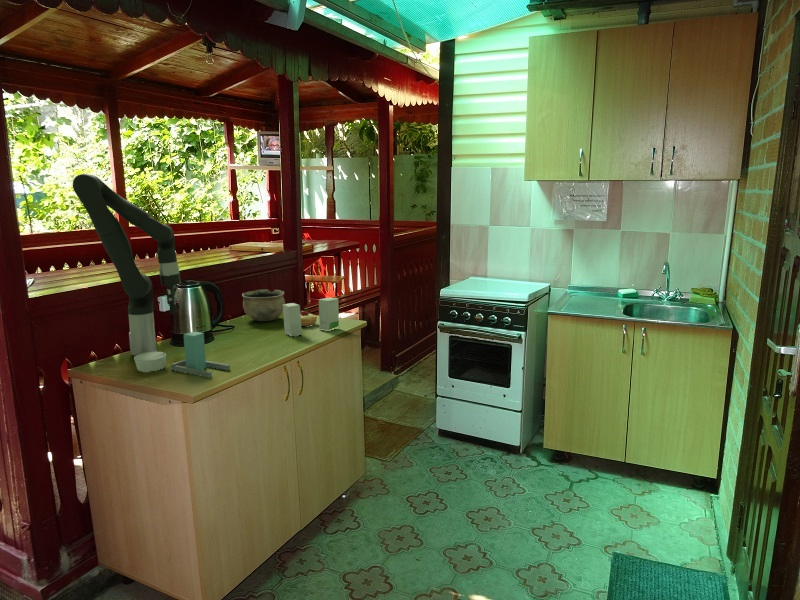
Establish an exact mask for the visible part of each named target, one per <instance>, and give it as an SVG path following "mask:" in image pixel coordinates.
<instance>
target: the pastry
mask: <svg viewBox="0 0 800 600" xmlns="http://www.w3.org/2000/svg"><path fill="white" fill-rule="evenodd" d="M300 315H301V326H310V325H314V324H317V320H318V319H317V315H316V314H312V313H309V311H308V310H307V307H305V308H304V310H300ZM314 326H315V325H314Z"/></svg>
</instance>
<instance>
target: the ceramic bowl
mask: <svg viewBox="0 0 800 600" xmlns="http://www.w3.org/2000/svg"><path fill="white" fill-rule="evenodd" d="M241 296H242V297H241V298H242V299H243V301H242V308H243V311H244V313H245V314H246V315H247V316H248V317H250V319H252V320H253V321H256V322H257V321H258V322H269V321H274V320H276V319H279V317H280V316H281V315H282V314H283V304H286V299H285V298H284V296H285V291H284V290H281V289H274V290H273V291H270V290H269V289H255V290H252V291H247V292H242V294H241Z"/></svg>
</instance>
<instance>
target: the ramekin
mask: <svg viewBox="0 0 800 600" xmlns="http://www.w3.org/2000/svg"><path fill="white" fill-rule="evenodd" d="M166 358H167V353H165V352H162V351H156V352H146V353H142V354H139V355H134V357H133V360H134V362H135V366H136V367H135V368H136V370H137V371H139V372H140V371H142V372H141V373H151V372H150V371H155V372H157V371H156V370H159V371H161V370H163V369H164V368H166V367H165V366H166V361H167V359H166ZM160 369H161V370H160Z"/></svg>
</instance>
